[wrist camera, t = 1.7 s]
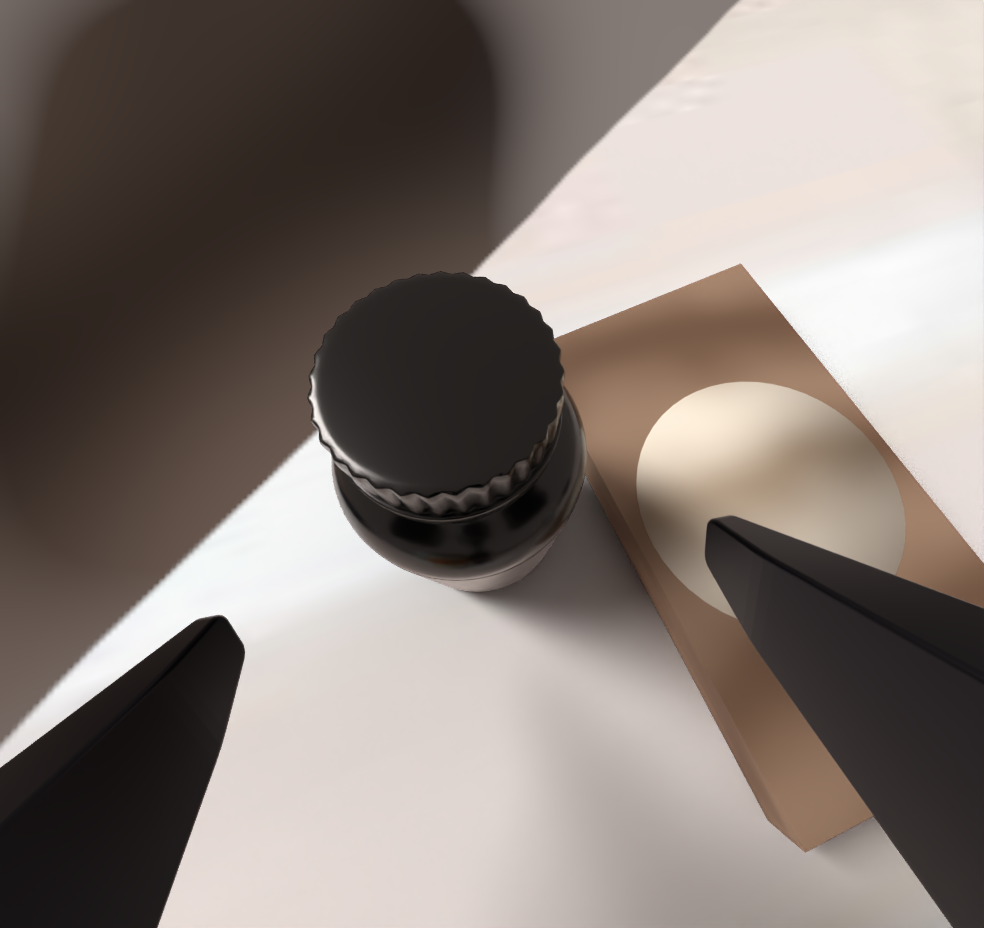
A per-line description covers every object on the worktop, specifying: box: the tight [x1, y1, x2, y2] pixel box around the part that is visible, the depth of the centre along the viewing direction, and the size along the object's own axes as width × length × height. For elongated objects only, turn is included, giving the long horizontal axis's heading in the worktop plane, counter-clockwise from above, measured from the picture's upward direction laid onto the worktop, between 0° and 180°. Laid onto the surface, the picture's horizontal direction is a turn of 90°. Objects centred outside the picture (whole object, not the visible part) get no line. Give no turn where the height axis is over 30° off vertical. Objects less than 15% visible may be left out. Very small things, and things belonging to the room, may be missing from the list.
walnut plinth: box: [554, 264, 984, 852], centre depth 17 cm, size 20×11×2 cm, turn 23°
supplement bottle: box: [307, 271, 587, 592], centre depth 13 cm, size 7×7×12 cm
